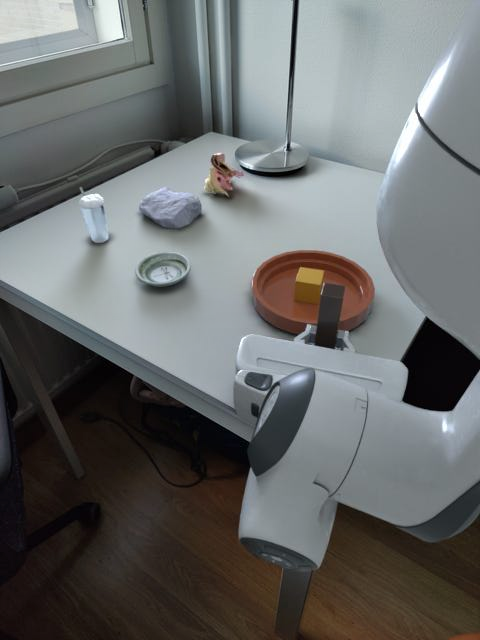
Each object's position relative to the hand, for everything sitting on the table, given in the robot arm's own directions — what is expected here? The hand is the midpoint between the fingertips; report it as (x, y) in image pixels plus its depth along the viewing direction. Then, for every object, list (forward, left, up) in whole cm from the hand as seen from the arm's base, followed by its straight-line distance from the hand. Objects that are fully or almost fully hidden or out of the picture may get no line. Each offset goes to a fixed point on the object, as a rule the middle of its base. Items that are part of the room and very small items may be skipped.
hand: (327, 331), depth 61 cm
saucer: (+30, -14, -7) cm, 34 cm away
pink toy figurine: (+30, -50, -7) cm, 59 cm away
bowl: (+4, -15, -7) cm, 17 cm away
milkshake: (+48, -23, -7) cm, 54 cm away
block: (+5, -15, -6) cm, 17 cm away
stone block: (+38, -35, -7) cm, 52 cm away
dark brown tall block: (0, +1, -7) cm, 7 cm away
